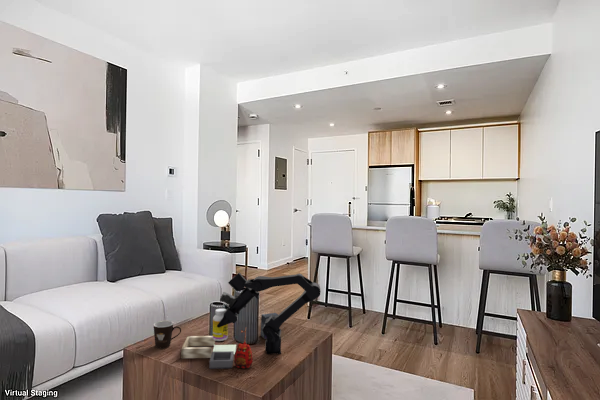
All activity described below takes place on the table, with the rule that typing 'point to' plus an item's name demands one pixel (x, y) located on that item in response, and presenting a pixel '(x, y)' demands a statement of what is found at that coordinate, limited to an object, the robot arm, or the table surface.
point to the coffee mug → (163, 333)
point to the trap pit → (221, 360)
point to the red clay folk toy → (243, 355)
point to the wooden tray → (197, 351)
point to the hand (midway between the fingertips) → (218, 324)
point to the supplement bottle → (220, 332)
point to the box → (263, 319)
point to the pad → (224, 348)
